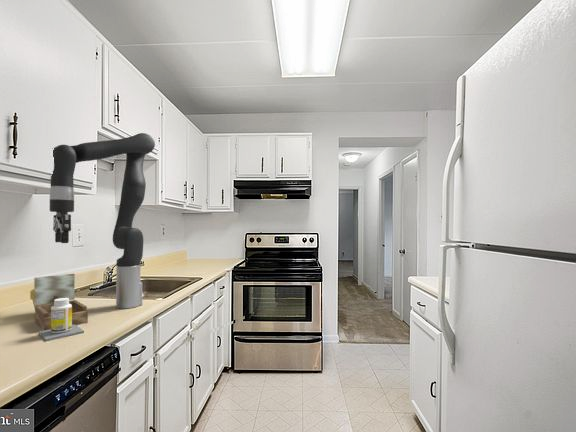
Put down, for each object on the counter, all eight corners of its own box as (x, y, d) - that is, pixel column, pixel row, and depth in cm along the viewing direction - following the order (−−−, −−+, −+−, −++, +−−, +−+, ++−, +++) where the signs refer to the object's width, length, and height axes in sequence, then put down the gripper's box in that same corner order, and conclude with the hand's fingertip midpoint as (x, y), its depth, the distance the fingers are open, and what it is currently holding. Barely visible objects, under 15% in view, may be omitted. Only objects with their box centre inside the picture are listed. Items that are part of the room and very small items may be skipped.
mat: (75, 326, 111) (75, 324, 111) (83, 332, 104) (83, 330, 104) (38, 333, 104) (38, 331, 104) (45, 341, 97) (45, 339, 97)
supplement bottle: (66, 327, 108) (66, 296, 108) (75, 329, 105) (75, 298, 105) (47, 332, 103) (47, 299, 103) (55, 335, 100) (56, 302, 101)
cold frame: (73, 313, 127) (73, 273, 127) (87, 322, 115) (88, 278, 115) (34, 320, 118) (34, 277, 118) (44, 331, 106) (45, 283, 106)
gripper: (79, 198, 119) (79, 243, 118) (68, 200, 128) (68, 241, 128) (54, 197, 113) (54, 244, 113) (45, 199, 123) (45, 242, 122)
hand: (61, 242), depth 120 cm, fingers open, 8 cm apart
